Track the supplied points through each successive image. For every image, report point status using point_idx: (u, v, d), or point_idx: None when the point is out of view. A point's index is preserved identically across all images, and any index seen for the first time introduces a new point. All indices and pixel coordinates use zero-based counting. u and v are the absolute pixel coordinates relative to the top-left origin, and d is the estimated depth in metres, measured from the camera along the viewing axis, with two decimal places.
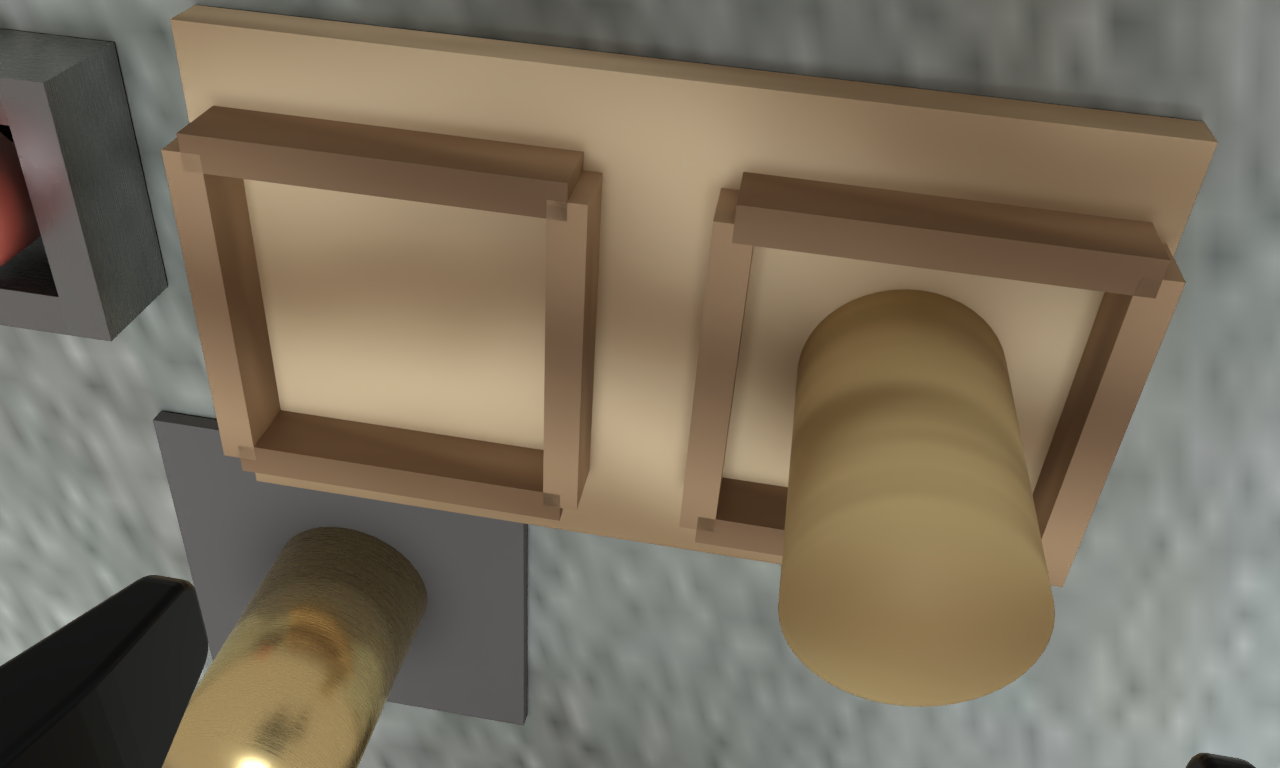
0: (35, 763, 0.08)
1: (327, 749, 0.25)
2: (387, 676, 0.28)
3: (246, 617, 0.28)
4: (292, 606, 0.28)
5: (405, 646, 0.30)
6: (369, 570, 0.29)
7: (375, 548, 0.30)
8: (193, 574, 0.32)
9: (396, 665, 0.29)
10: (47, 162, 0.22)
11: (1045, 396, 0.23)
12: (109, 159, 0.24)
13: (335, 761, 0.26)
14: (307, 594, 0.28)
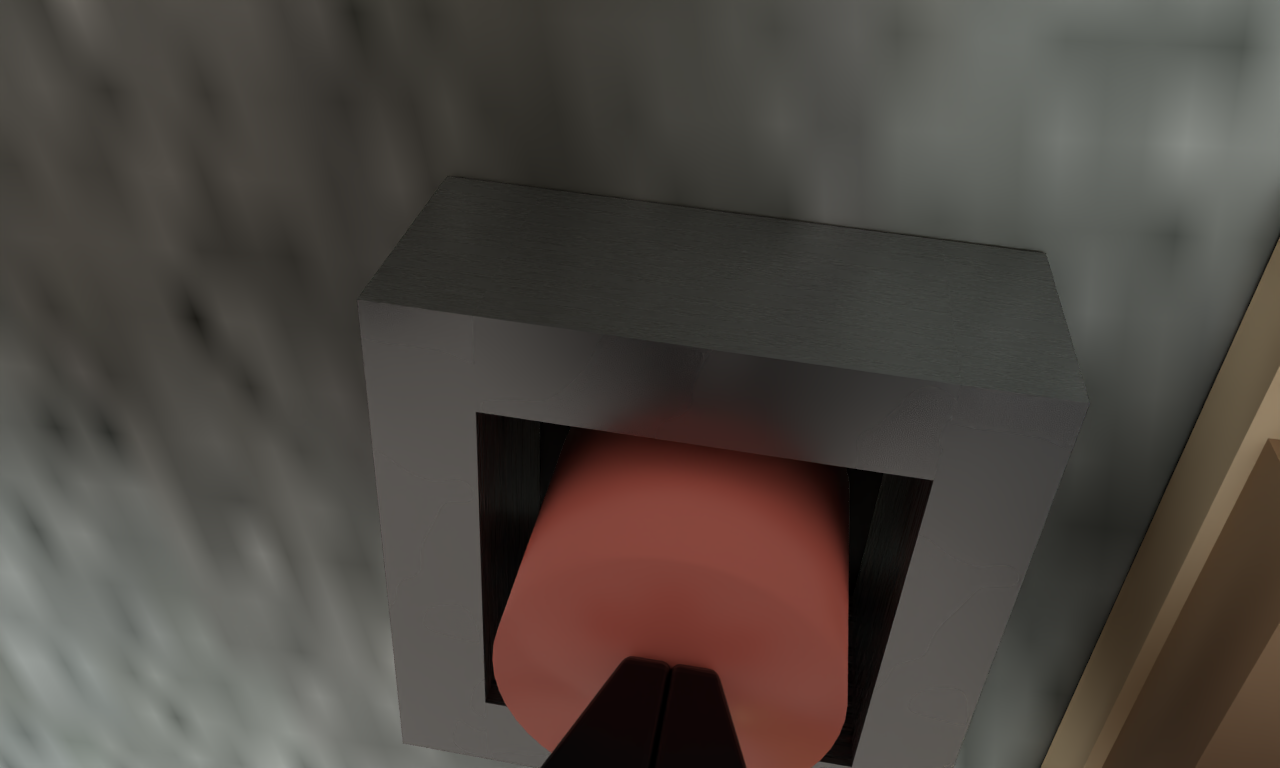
0: None
1: None
2: None
3: None
4: None
5: None
6: None
7: None
8: None
9: None
10: (987, 551, 0.10)
11: None
12: None
13: None
14: None
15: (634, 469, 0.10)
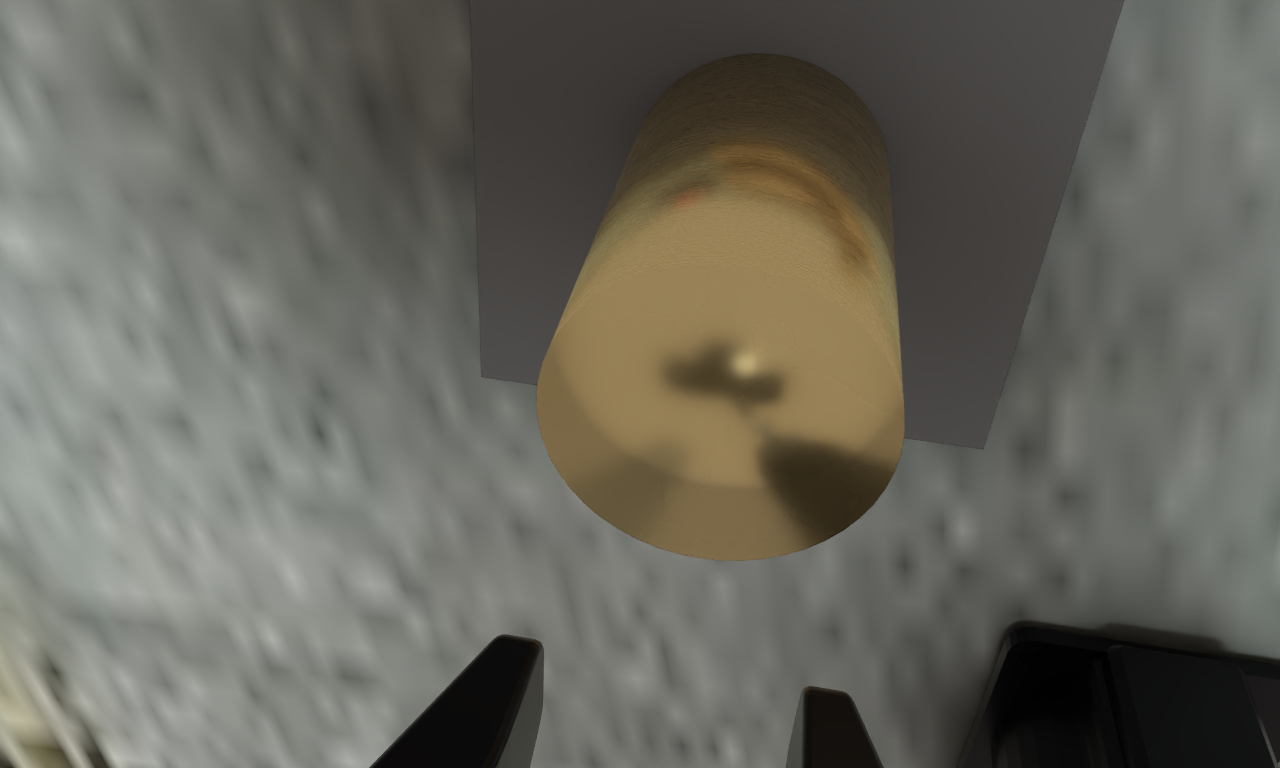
0: None
1: (889, 326, 0.13)
2: None
3: (654, 153, 0.15)
4: (746, 123, 0.15)
5: None
6: (838, 104, 0.17)
7: (832, 82, 0.17)
8: (479, 183, 0.20)
9: None
10: None
11: None
12: None
13: (899, 354, 0.13)
14: (764, 112, 0.15)
15: None
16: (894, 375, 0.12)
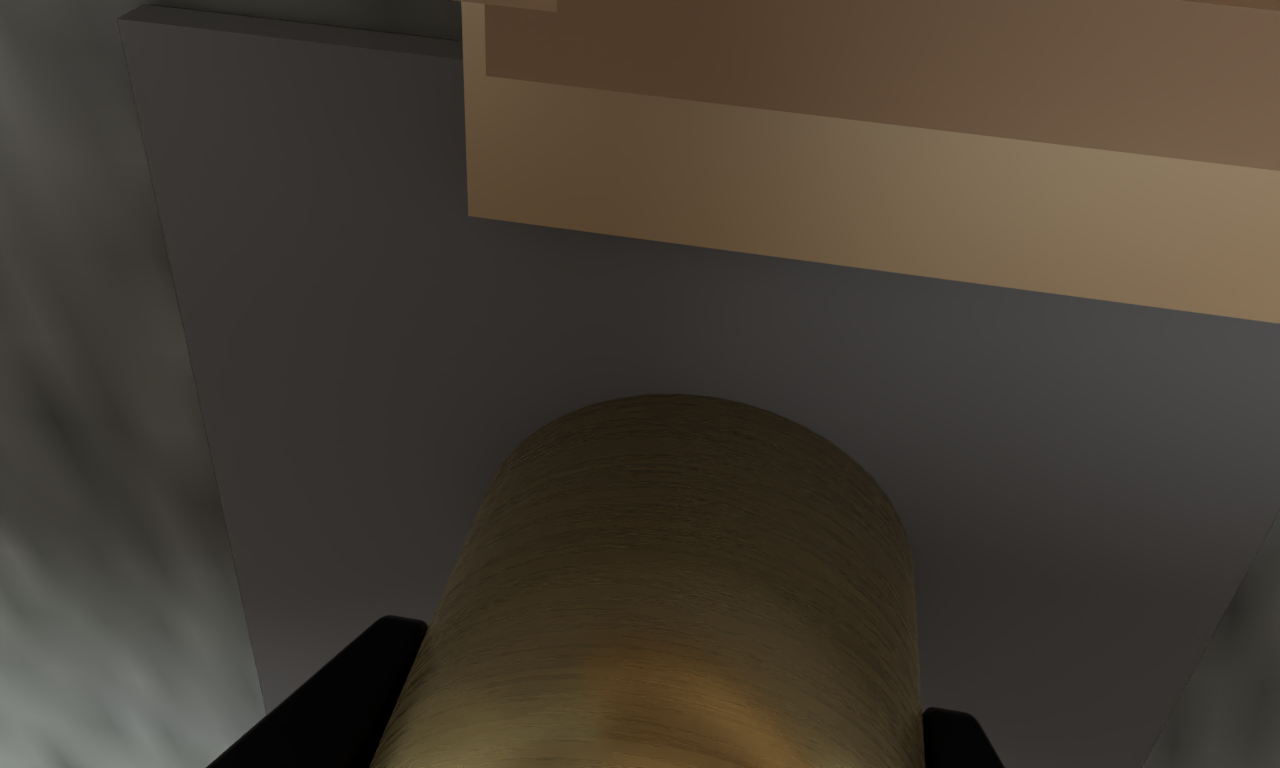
0: None
1: None
2: None
3: (451, 685, 0.08)
4: (631, 645, 0.07)
5: None
6: (824, 522, 0.09)
7: (814, 457, 0.10)
8: (236, 546, 0.12)
9: None
10: None
11: None
12: None
13: None
14: (672, 602, 0.08)
15: None
16: None
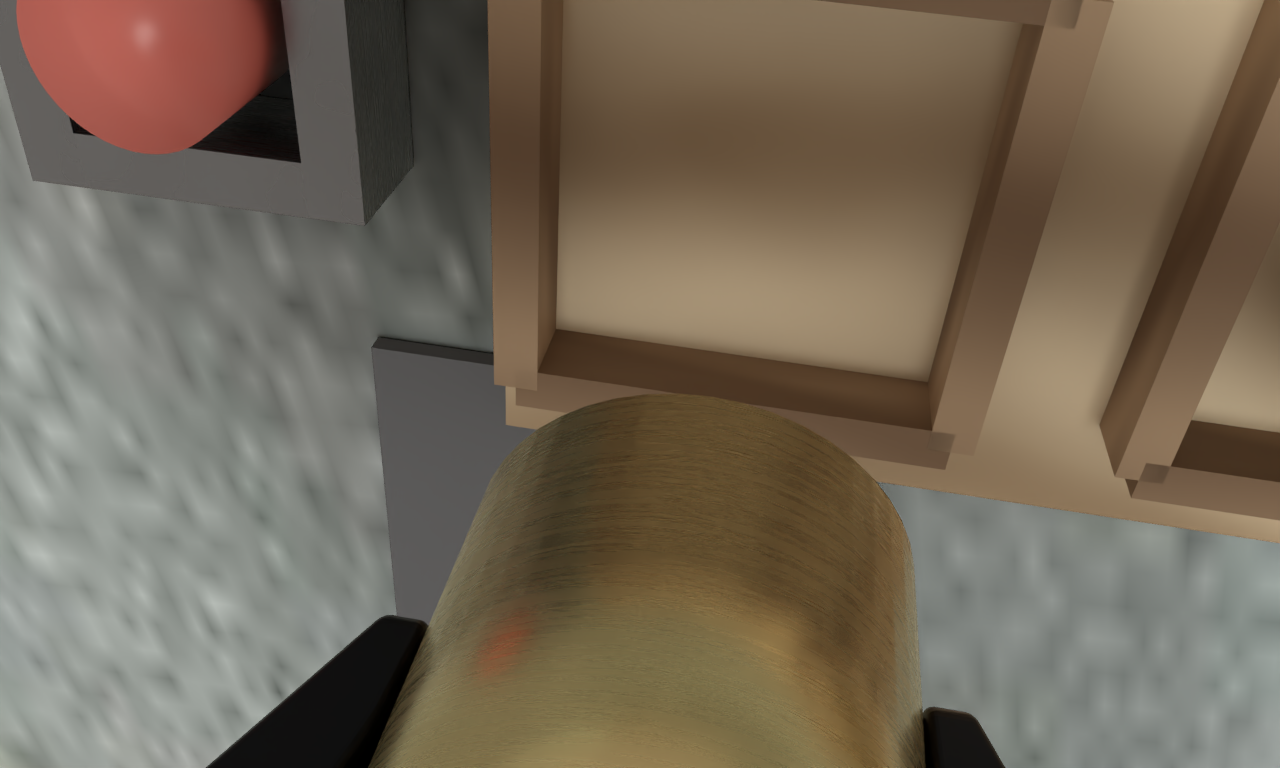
0: None
1: None
2: None
3: (450, 687, 0.08)
4: (631, 648, 0.07)
5: None
6: (825, 522, 0.09)
7: (814, 458, 0.10)
8: (393, 549, 0.26)
9: None
10: None
11: None
12: None
13: None
14: (671, 602, 0.08)
15: None
16: None
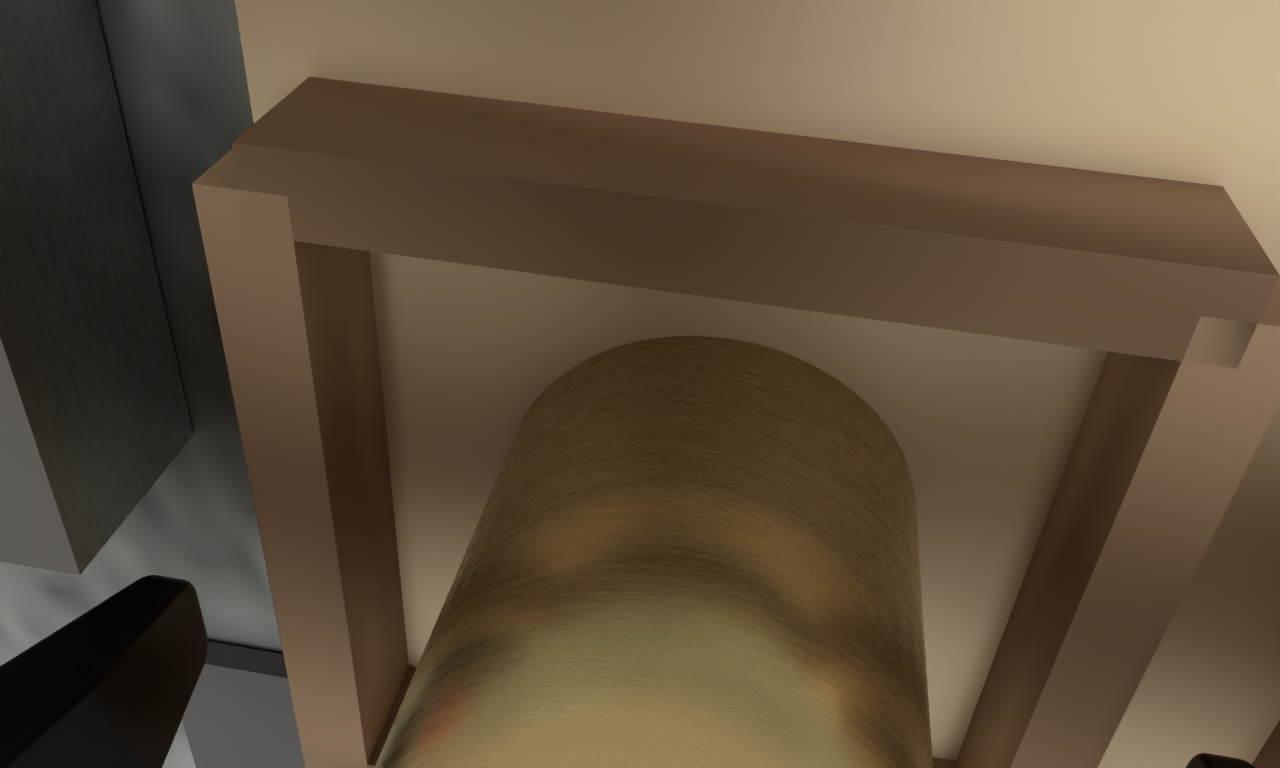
0: (36, 762, 0.08)
1: None
2: None
3: (496, 585, 0.08)
4: (661, 547, 0.08)
5: None
6: (834, 449, 0.10)
7: (823, 393, 0.10)
8: None
9: None
10: None
11: None
12: (72, 198, 0.11)
13: None
14: (696, 510, 0.09)
15: None
16: None
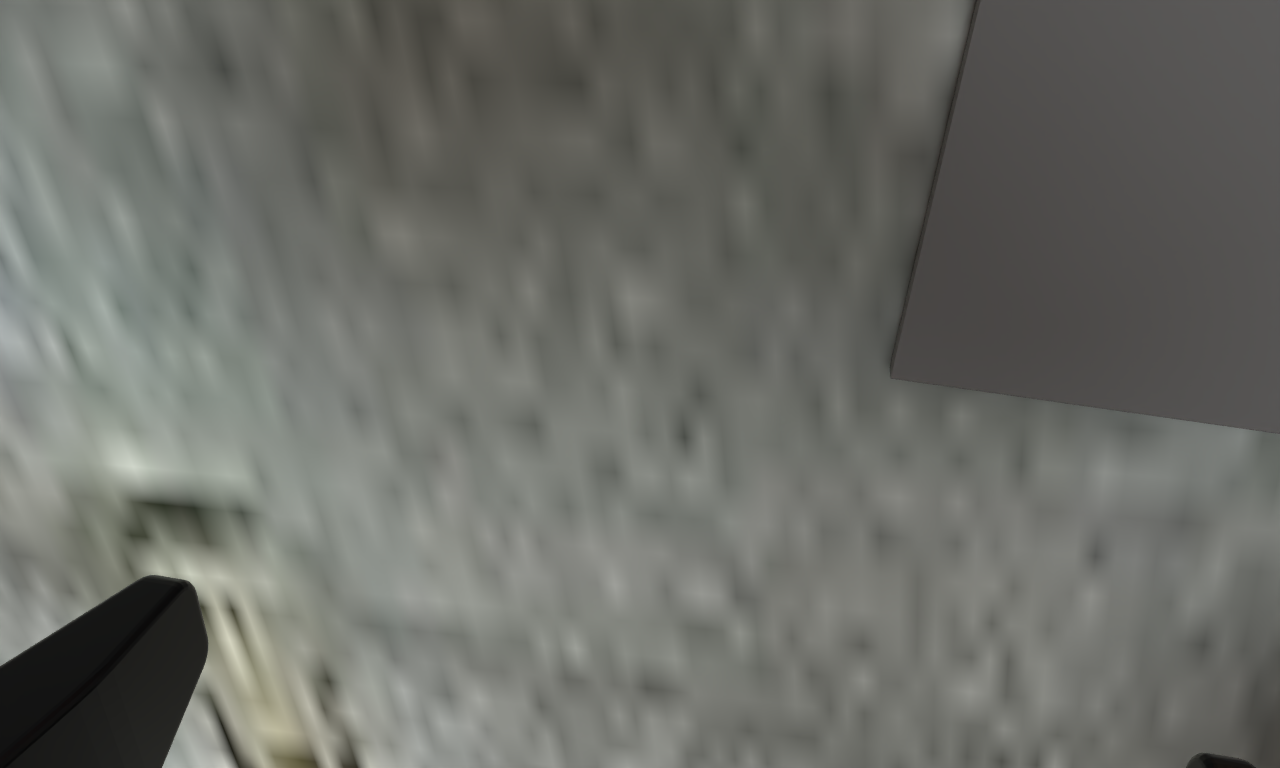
0: (35, 764, 0.08)
1: None
2: None
3: None
4: None
5: None
6: None
7: None
8: (943, 174, 0.19)
9: None
10: None
11: None
12: None
13: None
14: None
15: None
16: None
